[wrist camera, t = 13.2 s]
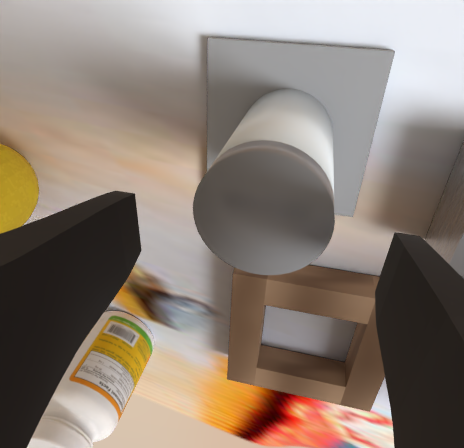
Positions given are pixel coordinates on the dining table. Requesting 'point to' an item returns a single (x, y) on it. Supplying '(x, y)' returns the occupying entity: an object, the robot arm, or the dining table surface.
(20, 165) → the lemon
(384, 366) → the robot arm
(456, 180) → the plunger collar
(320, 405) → the dining table surface
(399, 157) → the dining table surface
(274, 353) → the walnut housing
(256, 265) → the cylinder
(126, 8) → the dining table surface
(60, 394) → the supplement bottle
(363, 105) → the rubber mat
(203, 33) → the dining table surface
